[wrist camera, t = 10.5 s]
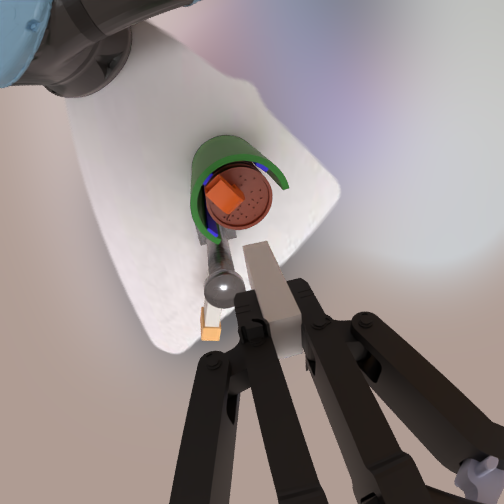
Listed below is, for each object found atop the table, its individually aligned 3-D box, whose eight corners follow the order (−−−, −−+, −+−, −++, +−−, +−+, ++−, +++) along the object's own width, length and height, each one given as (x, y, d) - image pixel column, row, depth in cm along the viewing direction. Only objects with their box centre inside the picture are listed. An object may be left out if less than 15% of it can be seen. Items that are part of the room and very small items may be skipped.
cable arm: (225, 265, 39) (228, 285, 35) (216, 319, 44) (219, 340, 40) (206, 264, 39) (208, 284, 35) (200, 319, 43) (201, 340, 40)
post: (192, 210, 43) (190, 276, 28) (229, 202, 44) (248, 263, 28) (200, 243, 47) (204, 318, 31) (235, 235, 47) (256, 307, 32)
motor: (226, 207, 44) (246, 280, 27) (179, 177, 40) (164, 236, 23) (265, 155, 41) (315, 197, 24) (218, 122, 37) (233, 136, 20)
